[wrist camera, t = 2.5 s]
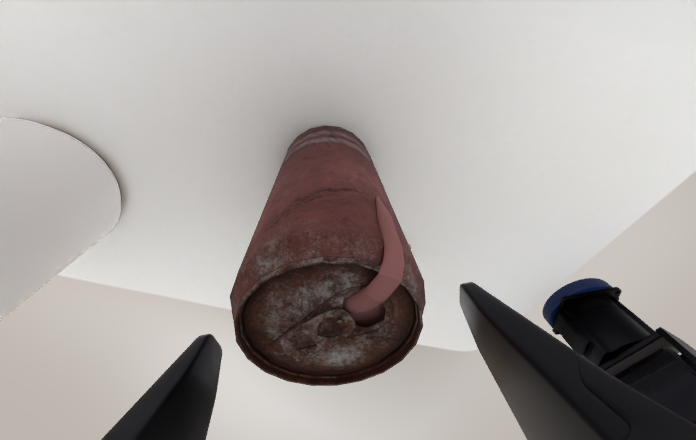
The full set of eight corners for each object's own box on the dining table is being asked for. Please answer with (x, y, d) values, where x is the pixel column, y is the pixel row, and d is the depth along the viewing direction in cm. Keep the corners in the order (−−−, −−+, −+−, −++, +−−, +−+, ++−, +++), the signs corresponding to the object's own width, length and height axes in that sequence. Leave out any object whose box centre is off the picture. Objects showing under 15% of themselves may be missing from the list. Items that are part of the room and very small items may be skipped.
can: (387, 143, 19) (486, 287, 7) (347, 215, 22) (373, 407, 10) (305, 103, 18) (261, 206, 6) (273, 187, 20) (199, 375, 8)
